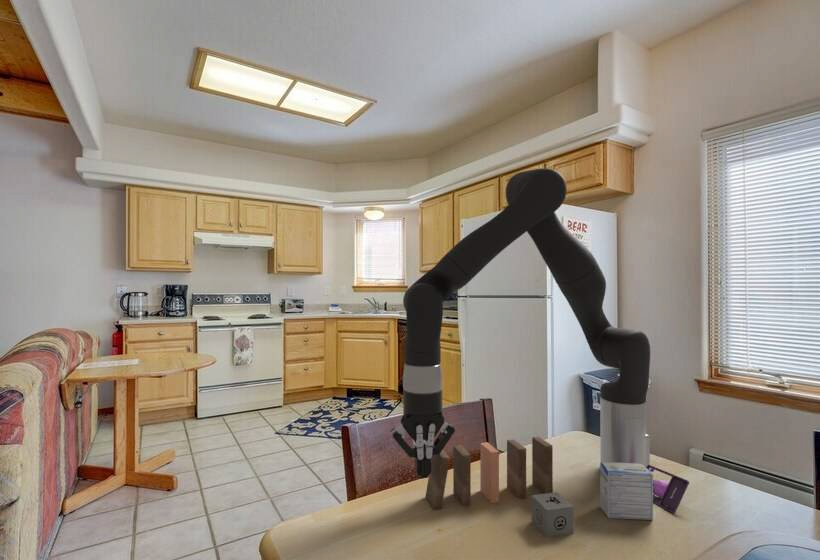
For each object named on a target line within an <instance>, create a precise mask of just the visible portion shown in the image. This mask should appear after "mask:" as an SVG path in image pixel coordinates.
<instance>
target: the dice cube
mask: <svg viewBox="0 0 820 560" xmlns="http://www.w3.org/2000/svg"><path fill="white" fill-rule="evenodd" d="M531 522H532V524H534V526H536V528H537V529H538V530H539V531H540V532H541V533H542V534H543V536H545V537H546V538H553V537H561V536H568V535H573V534H574V505H572V504H571V503H570V502H569V501H568V500H566V499H565V498H564V497H563V496H561V494H559V492H554V491H553V493H546V494H543V493H540V494H539V493H538V494H532V495H531Z"/></svg>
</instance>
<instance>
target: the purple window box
mask: <svg viewBox="0 0 820 560" xmlns="http://www.w3.org/2000/svg"><path fill="white" fill-rule="evenodd" d="M646 468H647V469H648V470H649V469H650V470H649V471H650V472H651V473H654V471H657V472H660V473H662V474H665V475H667V476H670V477H671V478H670V480H669V482H668V481H665V480H662V479H654V478H653V505H654V504H655V505H656V506H659V507H660V508H662V509H663V510H666V511H668V512H670V513H672V514H674V515H675V514H676V513H677V510H678V508H679V506H680V503H681V502H682V499H683V498H684V495H685V493H686V491H687V489H688V486H689V484H690V481H689V480H687V479H684V478H683V477H680V476H678V475H675V474H673V473H670V472H668V471H666V470H663V469H661V468H658V467H656V466H653V465H651V464H650V465H647V467H646ZM656 496H657V497H659V498H661V499H660V501H659V503H658V502H656V501H655V500H656Z"/></svg>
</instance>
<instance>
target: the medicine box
mask: <svg viewBox="0 0 820 560" xmlns="http://www.w3.org/2000/svg"><path fill="white" fill-rule="evenodd" d="M599 469H600V471H599V480H600V482H599V483H600V484H599V485H600V491H599V494H600V496H599V497H600V500H599V501H600V507H601V509H602V510H603V512H604V513H605V515H606V516H607V518H608V519H623V520H624V519H626V520H642V521H643V520H644V521H645V520H646V521H653V520H654V506H653V505H654V503H653V501H654V500H653V494H654V493H653V480H654V475H653V472H651V471H649V470H648V469H647V468H646V467H645V466H643V465H642V464H635V463H610V462H601V461H600V463H599Z"/></svg>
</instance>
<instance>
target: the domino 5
mask: <svg viewBox="0 0 820 560" xmlns="http://www.w3.org/2000/svg"><path fill="white" fill-rule="evenodd" d="M531 442H532V444H531V445H532V446H531V448H532V449H531V454H532V455H531V457H532V458H531V461H532V463H531V464H532V465H531V466H532V467H531V468H532V469H531V473H532V474H531V478H532V479H531V480H532V482H531V483H532V486H534V487H535V488H536V489H537V490H538V491H539V492H540V493H541V494H546V493H553V492H554V490H553V487H554V485H553V484H554V482H553V480H554V477H553V475H554V473H553V471H554V469H553V462H554V461H553V450H554V449H553V447H554V446H553V444H551V443H550V442H548V441H546V440H544V439H543V438H541V437H540V436H535V437H531Z"/></svg>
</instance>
